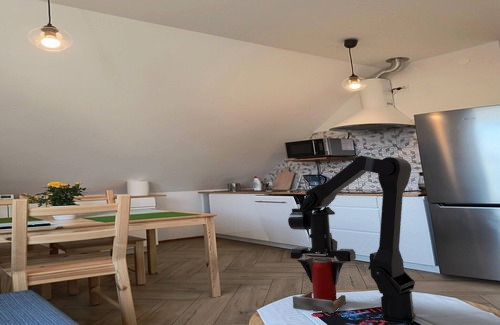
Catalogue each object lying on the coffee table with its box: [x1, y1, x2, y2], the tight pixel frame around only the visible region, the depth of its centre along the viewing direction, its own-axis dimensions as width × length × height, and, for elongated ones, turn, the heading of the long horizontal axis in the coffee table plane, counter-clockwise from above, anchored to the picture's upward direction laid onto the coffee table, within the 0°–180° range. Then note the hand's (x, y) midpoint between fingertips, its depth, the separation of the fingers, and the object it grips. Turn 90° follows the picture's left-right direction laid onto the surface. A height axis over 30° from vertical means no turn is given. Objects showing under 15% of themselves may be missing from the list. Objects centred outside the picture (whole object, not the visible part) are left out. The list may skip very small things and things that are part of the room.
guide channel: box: [292, 291, 347, 314], centre depth 94 cm, size 11×11×3 cm
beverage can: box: [311, 257, 338, 301], centre depth 98 cm, size 7×7×12 cm
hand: (323, 283), depth 97 cm, fingers closed on beverage can, 7 cm apart
